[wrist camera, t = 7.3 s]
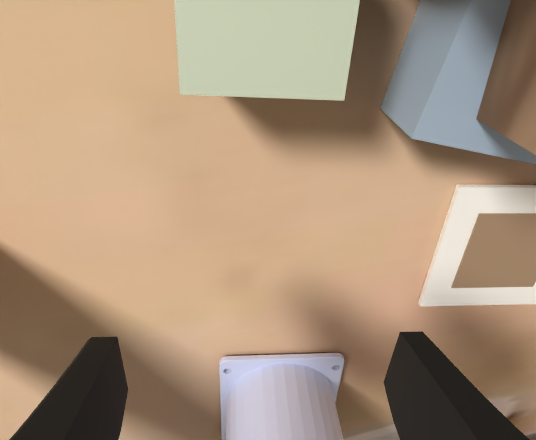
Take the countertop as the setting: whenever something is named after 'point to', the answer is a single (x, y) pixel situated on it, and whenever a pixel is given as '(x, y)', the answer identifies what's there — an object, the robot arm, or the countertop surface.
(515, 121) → the walnut cube
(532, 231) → the white flat square frame
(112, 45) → the countertop surface
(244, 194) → the countertop surface
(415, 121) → the base block
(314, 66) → the sage cube
